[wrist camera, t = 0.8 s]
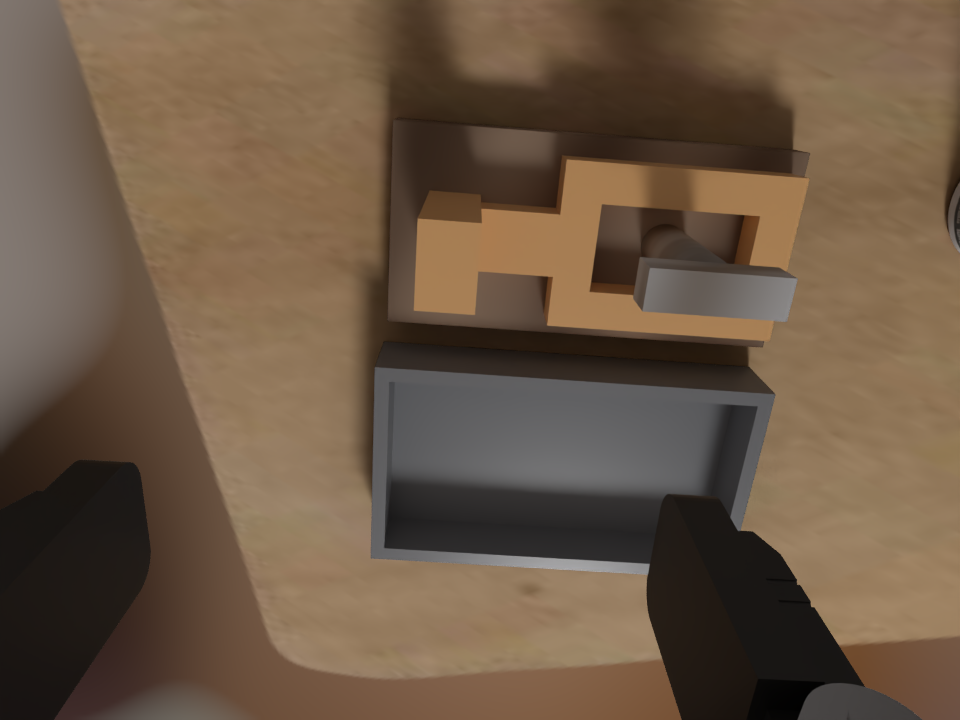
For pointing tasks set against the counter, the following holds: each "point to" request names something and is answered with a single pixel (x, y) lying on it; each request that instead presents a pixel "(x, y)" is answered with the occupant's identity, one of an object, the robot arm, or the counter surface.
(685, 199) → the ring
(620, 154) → the board
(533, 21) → the counter surface
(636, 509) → the tray
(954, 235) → the supplement bottle
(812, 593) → the counter surface
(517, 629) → the counter surface
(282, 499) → the counter surface
